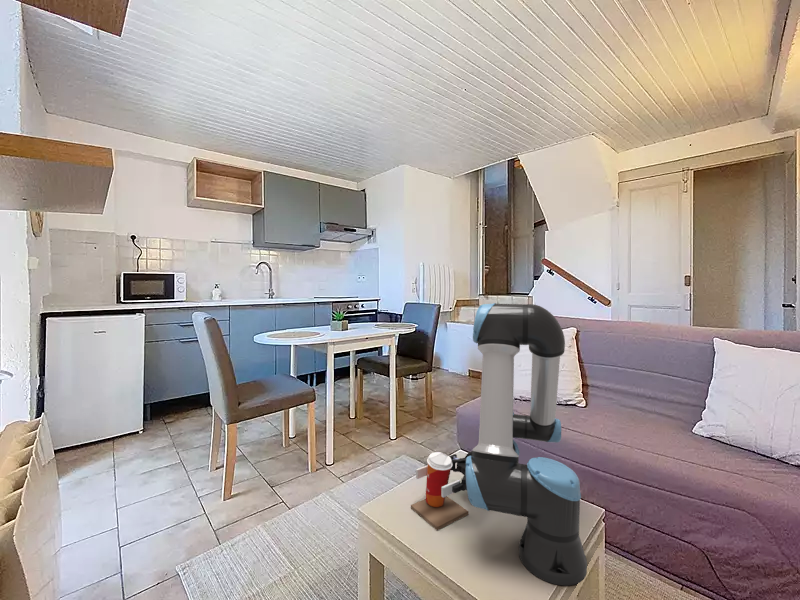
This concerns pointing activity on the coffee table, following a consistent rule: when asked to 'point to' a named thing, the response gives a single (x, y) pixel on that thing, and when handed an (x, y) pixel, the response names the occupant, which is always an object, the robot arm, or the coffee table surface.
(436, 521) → the walnut pad
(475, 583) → the coffee table surface
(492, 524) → the coffee table surface
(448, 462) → the paper cup
